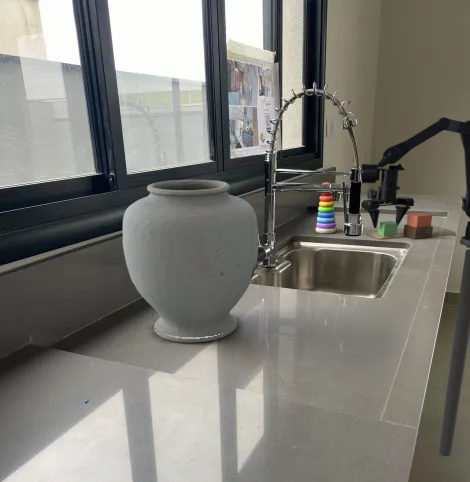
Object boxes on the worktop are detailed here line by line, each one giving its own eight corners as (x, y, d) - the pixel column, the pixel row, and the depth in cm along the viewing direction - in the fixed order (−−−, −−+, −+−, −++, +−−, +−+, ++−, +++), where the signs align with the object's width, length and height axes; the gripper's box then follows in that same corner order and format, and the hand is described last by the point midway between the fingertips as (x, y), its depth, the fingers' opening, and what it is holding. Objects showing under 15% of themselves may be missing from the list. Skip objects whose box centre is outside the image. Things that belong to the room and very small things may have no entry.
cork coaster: (389, 231, 190) (389, 230, 189) (405, 236, 181) (405, 235, 181) (366, 233, 187) (366, 232, 187) (381, 239, 178) (381, 238, 178)
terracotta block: (420, 223, 182) (421, 212, 181) (431, 226, 177) (432, 215, 176) (406, 224, 181) (407, 213, 179) (416, 227, 175) (417, 216, 174)
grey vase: (274, 311, 113) (273, 176, 102) (234, 362, 90) (228, 193, 79) (169, 301, 122) (158, 175, 111) (108, 345, 99) (87, 191, 88)
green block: (390, 233, 185) (391, 221, 183) (396, 235, 180) (397, 223, 179) (377, 233, 185) (378, 221, 183) (383, 236, 180) (384, 224, 178)
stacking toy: (320, 229, 197) (321, 180, 191) (339, 230, 193) (341, 181, 187) (312, 233, 191) (313, 183, 184) (332, 234, 187) (334, 183, 180)
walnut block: (419, 233, 184) (420, 222, 183) (431, 237, 178) (432, 226, 177) (403, 235, 183) (404, 224, 181) (414, 239, 176) (416, 228, 175)
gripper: (398, 179, 187) (395, 221, 192) (354, 182, 182) (352, 225, 187) (417, 182, 177) (412, 226, 182) (371, 186, 172) (368, 230, 177)
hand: (385, 226), depth 183 cm, fingers open, 9 cm apart
